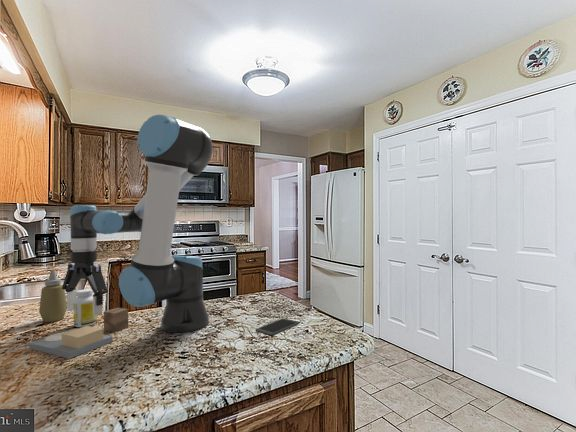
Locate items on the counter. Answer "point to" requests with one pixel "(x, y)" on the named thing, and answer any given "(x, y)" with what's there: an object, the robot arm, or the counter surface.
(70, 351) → the board
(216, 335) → the counter surface
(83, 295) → the pill bottle
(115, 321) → the walnut block
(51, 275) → the squeeze bottle
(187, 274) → the robot arm
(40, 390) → the counter surface
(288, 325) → the cell phone
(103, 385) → the counter surface
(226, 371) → the counter surface
